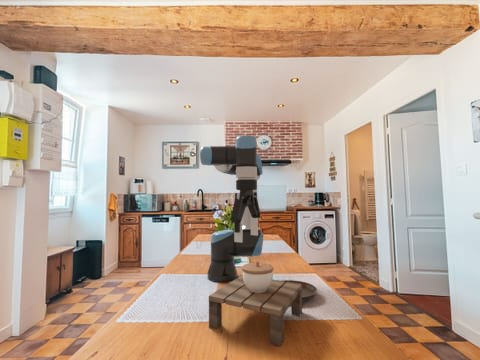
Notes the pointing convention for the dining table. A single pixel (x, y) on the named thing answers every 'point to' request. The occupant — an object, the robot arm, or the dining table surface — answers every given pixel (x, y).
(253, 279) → the lidded jar
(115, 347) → the dining table surface
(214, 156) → the robot arm
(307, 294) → the plant saucer
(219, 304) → the walnut rack
